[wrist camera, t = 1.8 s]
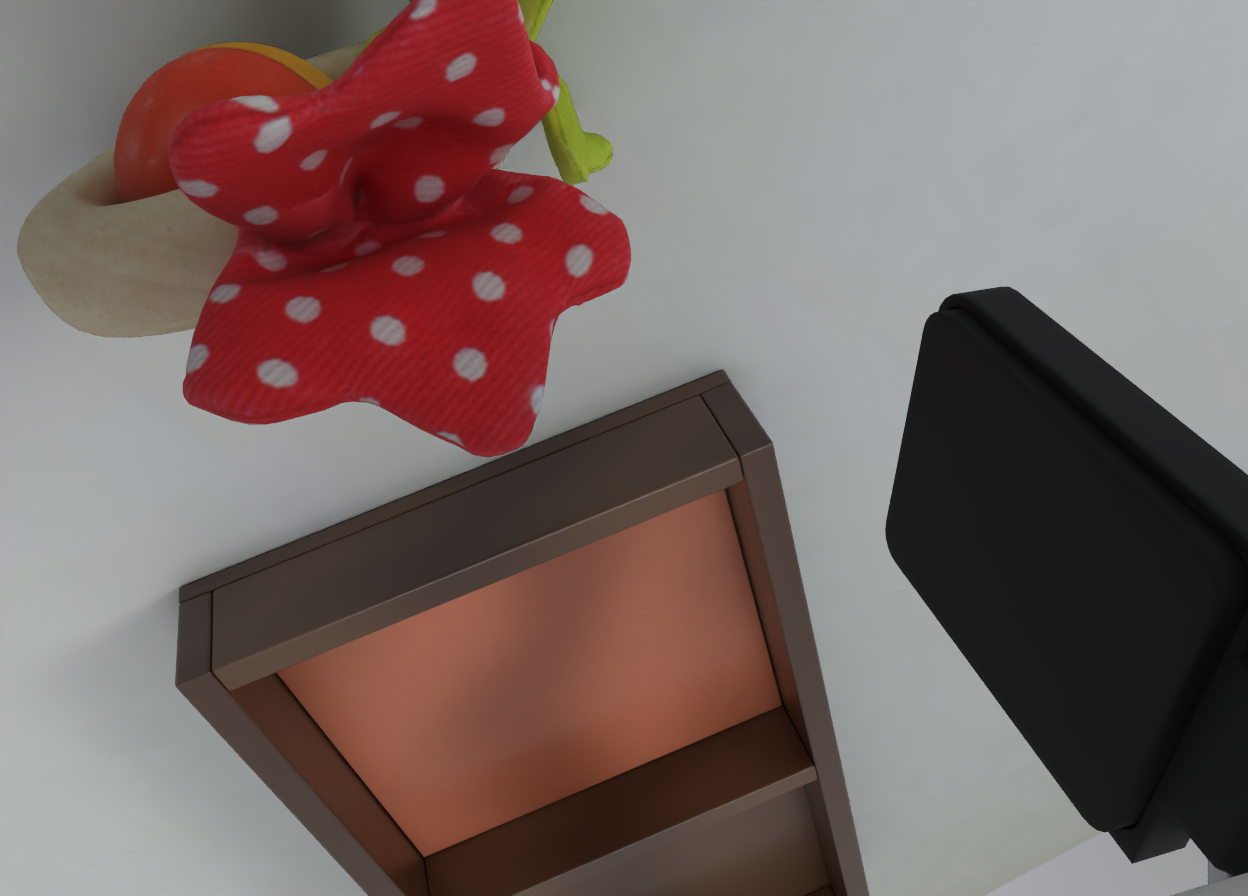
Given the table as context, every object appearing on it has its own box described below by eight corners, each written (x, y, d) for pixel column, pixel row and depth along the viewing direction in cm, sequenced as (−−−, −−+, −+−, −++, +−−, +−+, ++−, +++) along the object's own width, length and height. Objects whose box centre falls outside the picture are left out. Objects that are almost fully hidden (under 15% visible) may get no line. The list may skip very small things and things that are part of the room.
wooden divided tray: (723, 368, 25) (773, 442, 22) (844, 873, 42) (880, 944, 40) (178, 587, 24) (173, 686, 22) (530, 1011, 41) (547, 1091, 39)
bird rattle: (314, 222, 22) (726, 91, 19) (70, 684, 14) (697, 586, 11) (110, -73, 18) (593, -298, 15) (-384, 350, 10) (408, 59, 7)
